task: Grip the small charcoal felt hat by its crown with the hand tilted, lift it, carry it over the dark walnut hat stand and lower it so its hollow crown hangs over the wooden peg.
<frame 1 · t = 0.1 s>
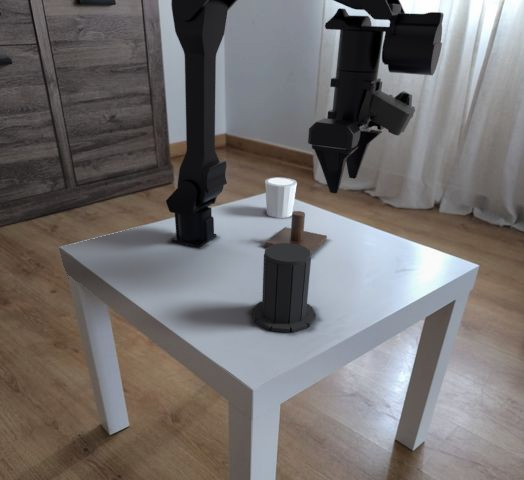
hand: (343, 185, 76), 15 cm above the table, tool pointing down, fingers open, 9 cm apart
white cup: (279, 214, 108), on the table
hat stand: (296, 243, 94), on the table
hat: (283, 315, 72), on the table
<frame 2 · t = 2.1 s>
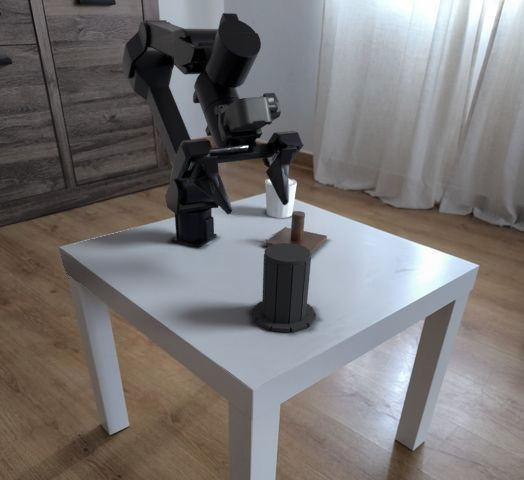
hand: (259, 208, 70), 13 cm above the table, tool tilted 45°, fingers open, 9 cm apart
nothing on the table moved.
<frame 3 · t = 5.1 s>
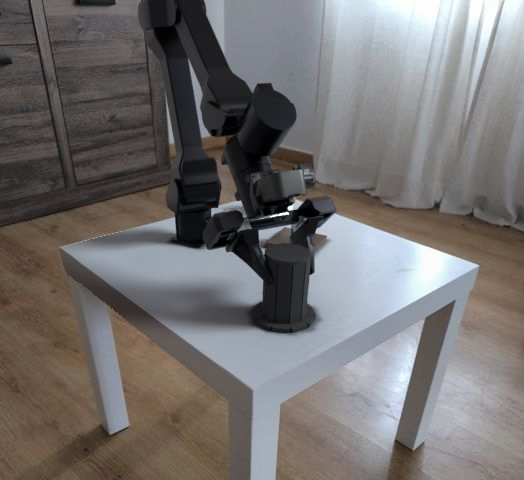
hand: (291, 278, 67), 7 cm above the table, tool tilted 45°, fingers closed on hat, 6 cm apart
hat: (283, 315, 72), on the table, touching gripper
everything else where it was.
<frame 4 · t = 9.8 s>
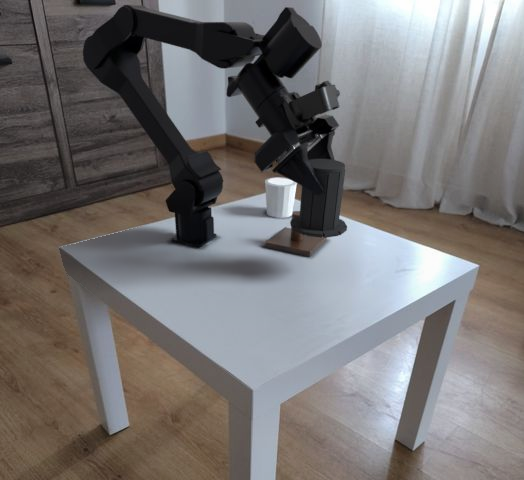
hand: (330, 187, 76), 14 cm above the table, tool tilted 45°, fingers closed on hat, 6 cm apart
hat: (318, 226, 80), point 8 cm above the table, touching gripper
everything else where it was.
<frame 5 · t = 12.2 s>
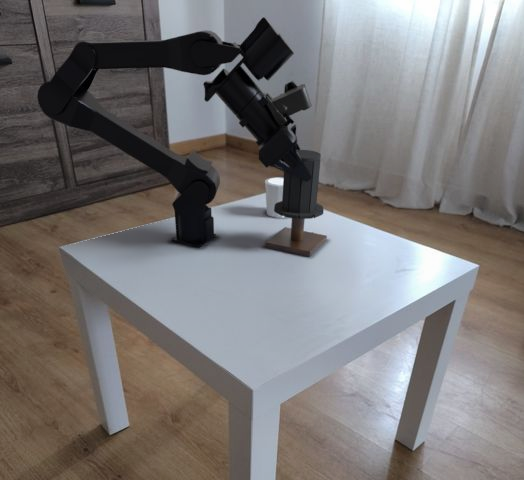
hand: (309, 174, 87), 13 cm above the table, tool tilted 45°, fingers closed on hat, 6 cm apart
hat: (298, 210, 90), point 7 cm above the table, touching gripper
everything else where it was.
when the fingers open (8 cm above the table, at t = 14.3 s): hat stays where it is, resting on hat stand.
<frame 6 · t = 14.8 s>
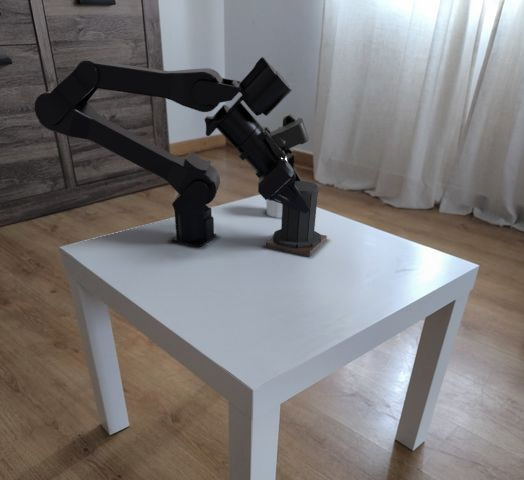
hand: (307, 202, 90), 8 cm above the table, tool tilted 45°, fingers open, 9 cm apart
hat: (297, 238, 94), point 1 cm above the table, touching hat stand
everything else where it was.
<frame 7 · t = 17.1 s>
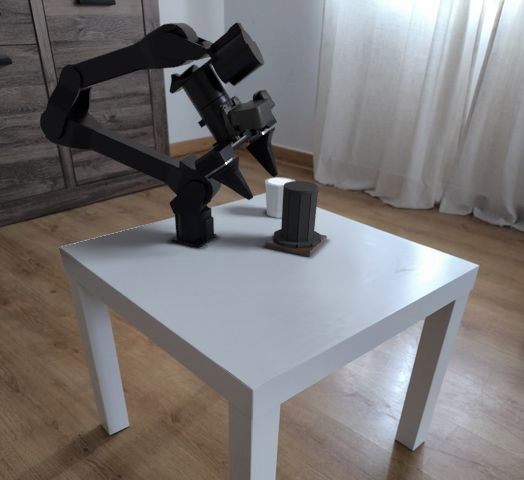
hand: (263, 187, 86), 11 cm above the table, tool tilted 35°, fingers open, 9 cm apart
nothing on the table moved.
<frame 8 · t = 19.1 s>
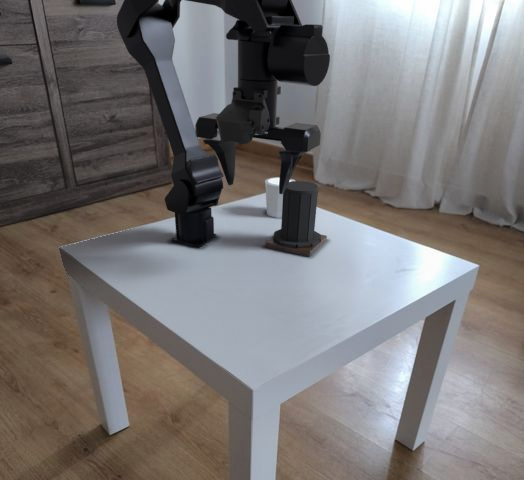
hand: (255, 189, 79), 13 cm above the table, tool pointing down, fingers open, 9 cm apart
nothing on the table moved.
at the end: hat 0.1 cm off-centre on the hat stand, point 1.0 cm above the hat stand's base; hat tilted 0°; the gripper is holding nothing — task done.
